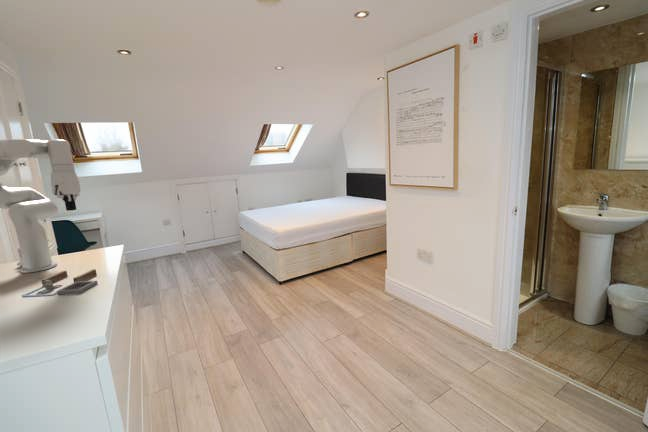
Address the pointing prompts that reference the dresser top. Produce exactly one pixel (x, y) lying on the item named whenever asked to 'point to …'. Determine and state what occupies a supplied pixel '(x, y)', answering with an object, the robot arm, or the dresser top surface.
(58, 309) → the dresser top surface
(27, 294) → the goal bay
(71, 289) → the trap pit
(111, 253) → the dresser top surface
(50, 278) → the walled tunnel
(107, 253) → the dresser top surface
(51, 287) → the strap clip
